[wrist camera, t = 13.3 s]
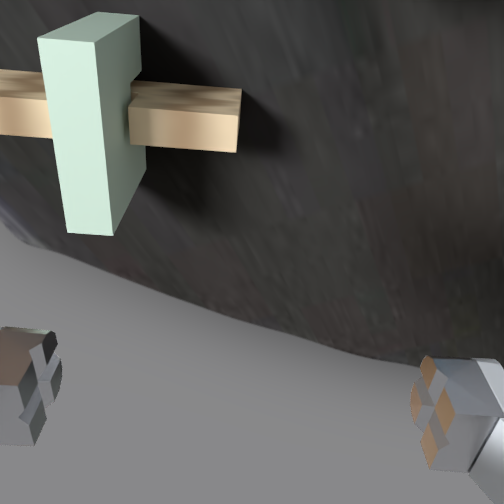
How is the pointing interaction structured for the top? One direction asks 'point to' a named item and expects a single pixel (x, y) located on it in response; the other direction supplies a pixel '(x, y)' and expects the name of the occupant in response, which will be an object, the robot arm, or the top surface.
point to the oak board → (135, 112)
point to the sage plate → (93, 117)
